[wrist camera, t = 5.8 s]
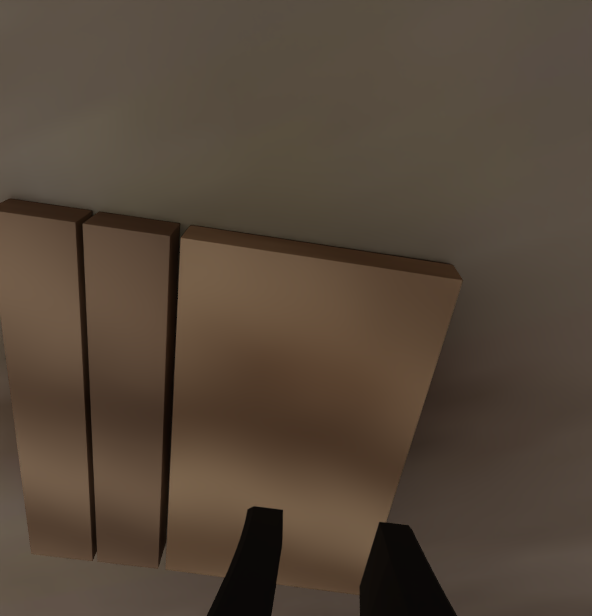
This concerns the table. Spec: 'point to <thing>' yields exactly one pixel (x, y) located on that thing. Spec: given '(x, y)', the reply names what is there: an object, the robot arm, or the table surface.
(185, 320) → the board
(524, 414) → the table surface
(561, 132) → the table surface
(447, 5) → the table surface
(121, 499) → the laid row
